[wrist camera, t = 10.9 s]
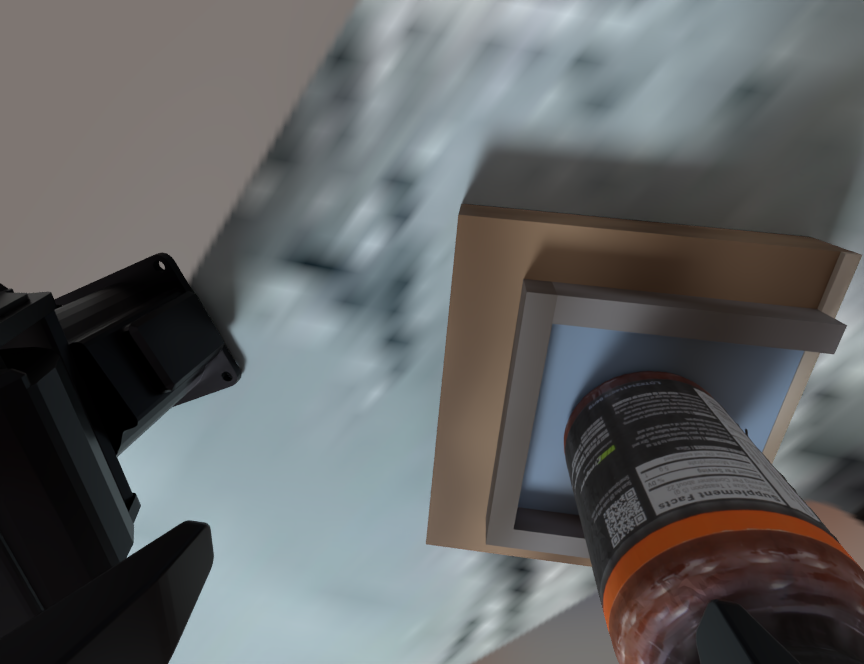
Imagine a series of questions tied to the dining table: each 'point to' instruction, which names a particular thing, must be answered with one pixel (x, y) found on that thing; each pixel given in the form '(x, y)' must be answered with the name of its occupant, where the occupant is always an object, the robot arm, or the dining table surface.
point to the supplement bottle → (700, 528)
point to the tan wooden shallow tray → (607, 351)
